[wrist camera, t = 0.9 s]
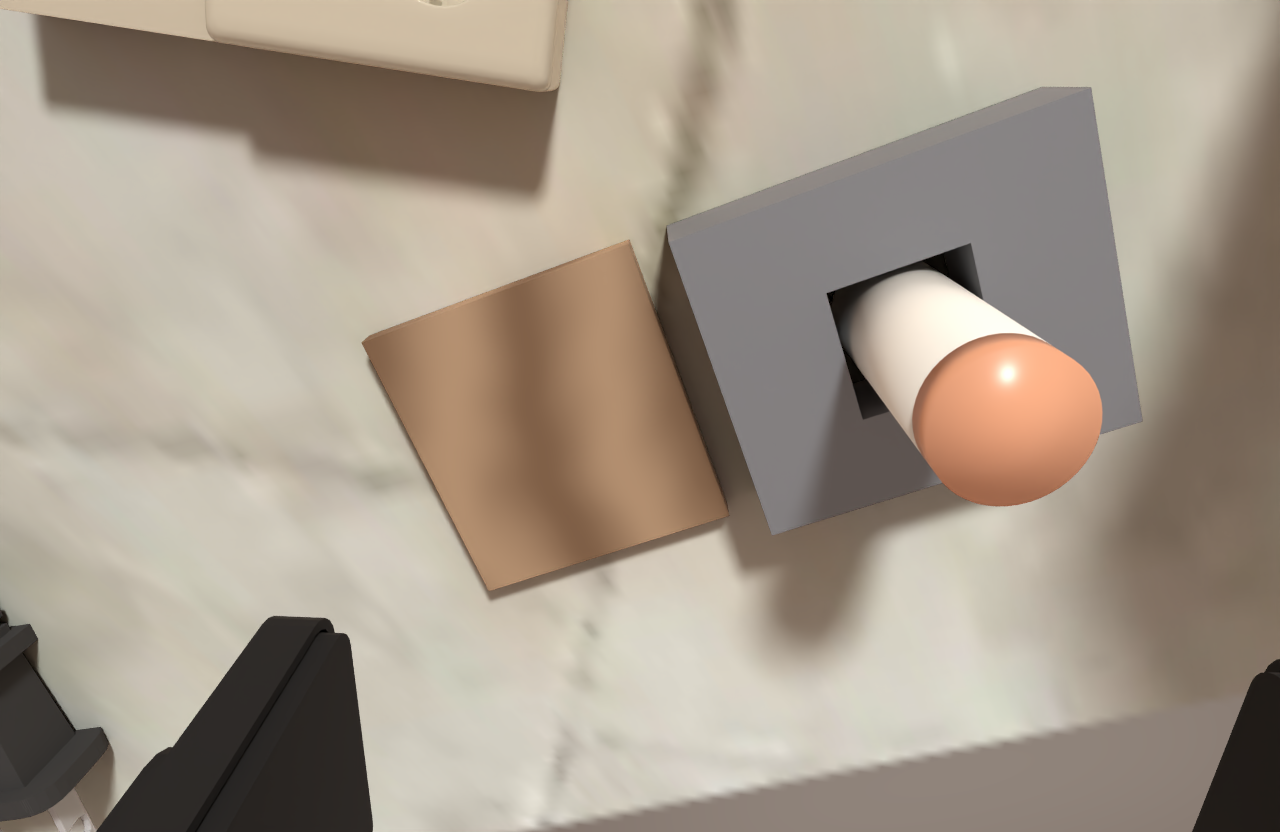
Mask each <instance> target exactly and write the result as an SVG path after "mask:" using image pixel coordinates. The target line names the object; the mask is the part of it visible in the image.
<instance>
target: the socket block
mask: <svg viewBox="0 0 1280 832" xmlns="http://www.w3.org/2000/svg"><path fill="white" fill-rule="evenodd" d="M667 233H668V242H669V245H670V248H671V251H672V253H673V256H674V259H675V262H676V265H677V268H678V270H679V273H680V276H681V279H682V282H683V285H684V287H685V290H686V293H687V296H688V299H689V302H690V304H691V307H692V310H693V313H694V316H695V319H696V321H697V324H698V327H699V330H700V333H701V336H702V338H703V341H704V344H705V347H706V350H707V353H708V355H709V358H710V361H711V364H712V367H713V370H714V372H715V375H716V378H717V381H718V384H719V387H720V389H721V392H722V395H723V398H724V401H725V404H726V406H727V409H728V412H729V415H730V418H731V421H732V423H733V426H734V429H735V432H736V435H737V438H738V440H739V443H740V446H741V449H742V452H743V455H744V457H745V460H746V463H747V466H748V469H749V472H750V474H751V477H752V480H753V483H754V486H755V489H756V491H757V494H758V497H759V500H760V503H761V506H762V508H763V511H764V514H765V517H766V520H767V523H768V525H769V528H770V531H771V534H772V535H775V534H778V533H782V532H785V531H788V530H791V529H795V528H798V527H801V526H804V525H808V524H811V523H814V522H817V521H821V520H824V519H827V518H830V517H834V516H837V515H840V514H843V513H847V512H850V511H853V510H856V509H860V508H863V507H866V506H869V505H873V504H876V503H879V502H882V501H886V500H889V499H892V498H895V497H899V496H902V495H905V494H908V493H912V492H915V491H918V490H921V489H925V488H928V487H931V486H934V485H938V484H941V483H942V482H941V480H940V479H939V478H938V476H937V475H936V474H935V472H934V471H933V470H932V468H931V467H930V465H929V464H928V463H927V461H926V460H925V459H924V457H923V456H922V454H921V453H920V452H919V450H918V449H917V448H916V446H915V445H914V444H913V442H912V441H911V439H910V438H909V437H908V435H907V434H906V433H905V431H904V430H903V428H902V427H901V426H900V424H899V423H898V422H897V420H896V419H895V418H894V416H893V415H892V413H891V412H890V411H889V409H888V408H887V407H886V405H885V404H884V402H883V401H882V400H881V398H880V397H879V396H878V394H877V393H876V391H875V390H874V389H873V387H872V386H871V385H870V383H869V382H868V381H867V379H866V380H863V381H860V382H856V383H853V384H852V381H851V377H850V374H849V371H848V367H847V364H846V360H845V357H844V353H843V350H842V346H841V343H840V339H839V336H838V333H837V329H836V326H835V322H834V319H833V315H832V312H831V308H830V305H829V301H828V298H827V294H826V293H828V292H831V291H834V290H837V289H840V288H843V287H846V286H849V285H851V284H854V283H857V282H860V281H863V280H866V279H869V278H872V277H875V276H877V275H880V274H883V273H886V272H889V271H892V270H895V269H898V268H900V267H903V266H906V265H909V264H912V263H915V262H918V261H921V260H923V259H926V258H929V257H932V256H935V255H938V254H941V253H944V257H945V262H946V266H947V270H948V275H949V279H951V280H952V281H954V282H956V283H957V284H959V285H960V286H962V287H963V288H965V289H966V290H968V291H969V292H971V293H972V294H974V295H975V296H977V297H979V298H980V299H982V300H983V301H985V302H986V303H988V304H989V305H991V306H992V307H994V308H995V309H997V310H998V311H1000V312H1002V313H1003V314H1005V315H1006V316H1008V317H1009V318H1011V319H1012V320H1014V321H1015V322H1017V323H1018V324H1020V325H1021V326H1023V327H1025V328H1026V329H1028V330H1029V331H1031V332H1032V333H1034V334H1035V335H1037V336H1038V337H1040V338H1041V339H1043V340H1044V341H1046V342H1048V343H1049V344H1051V345H1052V346H1054V347H1055V348H1057V349H1058V350H1060V351H1061V352H1063V353H1064V354H1066V355H1067V356H1069V357H1071V358H1072V359H1074V360H1075V361H1076V362H1078V363H1079V364H1080V365H1081V366H1082V367H1083V368H1084V369H1085V370H1086V371H1087V372H1088V373H1089V374H1090V376H1091V377H1092V379H1093V380H1094V382H1095V384H1096V386H1097V389H1098V391H1099V394H1100V398H1101V402H1102V412H1103V413H1102V425H1101V430H1100V434H1103V433H1106V432H1110V431H1113V430H1116V429H1119V428H1123V427H1126V426H1129V425H1132V424H1136V423H1139V422H1142V414H1141V408H1140V401H1139V395H1138V389H1137V382H1136V376H1135V369H1134V363H1133V356H1132V350H1131V343H1130V337H1129V330H1128V324H1127V317H1126V311H1125V304H1124V298H1123V291H1122V285H1121V278H1120V272H1119V265H1118V259H1117V252H1116V246H1115V239H1114V233H1113V226H1112V220H1111V213H1110V207H1109V200H1108V194H1107V187H1106V181H1105V174H1104V168H1103V161H1102V155H1101V148H1100V142H1099V135H1098V129H1097V123H1096V116H1095V110H1094V103H1093V97H1092V90H1091V87H1040V88H1038V89H1035V90H1032V91H1030V92H1027V93H1024V94H1022V95H1019V96H1016V97H1013V98H1011V99H1008V100H1005V101H1003V102H1000V103H997V104H994V105H992V106H989V107H986V108H984V109H981V110H978V111H976V112H973V113H970V114H967V115H965V116H962V117H959V118H957V119H954V120H951V121H948V122H946V123H943V124H940V125H938V126H935V127H932V128H930V129H927V130H924V131H921V132H919V133H916V134H913V135H911V136H908V137H905V138H903V139H900V140H897V141H894V142H892V143H889V144H886V145H884V146H881V147H878V148H875V149H873V150H870V151H867V152H865V153H862V154H859V155H857V156H854V157H851V158H848V159H846V160H843V161H840V162H838V163H835V164H832V165H829V166H827V167H824V168H821V169H819V170H816V171H813V172H811V173H808V174H805V175H802V176H800V177H797V178H794V179H792V180H789V181H786V182H783V183H781V184H778V185H775V186H773V187H770V188H767V189H765V190H762V191H759V192H756V193H754V194H751V195H748V196H746V197H743V198H740V199H738V200H735V201H732V202H729V203H727V204H724V205H721V206H719V207H716V208H713V209H710V210H708V211H705V212H702V213H700V214H697V215H694V216H692V217H689V218H686V219H683V220H681V221H678V222H675V223H673V224H670V225H667ZM1100 434H1099V435H1100Z"/></svg>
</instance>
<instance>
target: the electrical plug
mask: <svg viewBox="0 0 1280 832" xmlns="http://www.w3.org/2000/svg"><path fill="white" fill-rule="evenodd" d="M1 616H3V614H2V612H1V610H0V617H1ZM37 639H38V638H37V636H36V634H35V632H34V631H33V629H32V627H31V625H30V624H26V625H19V626H12V627H9V626H8V624H7V623H4V624H0V821H7V820H15V819H21V818H26V817H31V816H34V815H37V814H39V813H42V812H44V811H46V810H48V811H49V813H50V815H51V817H52V819H53V821H54V823H55V825H56V826H57V828H58V830H59V832H70V830H71V828H72V826H73V825H74V823H75V822H76V821H77V820H78V818H81V819H82V820H83V823H84V827H85V829H84V832H96V829H95V827H94V825H93V823H92V821H91V819H90V817H89V815H88V813H87V811H86V809H85V807H84V805H83V803H82V801H81V799H80V797H79V796H78V794H77V792H76V790H75V788H74V787H75V786H76V785H77V783H78V782H79V781H80V780H81V779H82V778H83V777H84V775H85V774H86V773H87V772H88V771H89V770H90V769H91V767H92V766H93V765H94V764H95V763H96V762H97V761H98V760H99V758H100V757H101V756H102V755H103V753H104V752H105V751H106V749H107V747H108V741H107V739H106V737H105V735H104V733H103V731H102V729H101V727H97V728H90V729H82V730H75V731H73V730H72V728H71V727H70V725H69V724H68V722H67V720H66V719H65V717H64V716H63V714H62V713H61V711H60V710H59V708H58V707H57V705H56V704H55V702H54V701H53V699H52V698H51V696H50V694H49V693H48V691H47V690H46V688H45V687H44V685H43V684H42V682H41V681H40V679H39V678H38V676H37V675H36V673H35V672H34V670H33V668H32V667H31V665H30V664H29V662H28V661H27V659H26V658H25V656H24V655H23V653H22V652H23V651H24V650H25V649H27V648H28V647H29V646H30V645H31V644H33V643H34V642H35V641H36V640H37ZM0 832H2V830H1V829H0Z"/></svg>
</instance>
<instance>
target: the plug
mask: <svg viewBox="0 0 1280 832" xmlns="http://www.w3.org/2000/svg"><path fill="white" fill-rule="evenodd" d="M831 312H832V315H833V319H834V322H835V326H836V329H837V333H838V336H839V339H840V343H841V345H842V346H843V348H844V349H845V350H846V352H847V353H848V354H849V356H850V357H851V359H852V360H853V361H854V363H855V364H856V365H857V367H858V368H859V370H860V371H861V372H862V374H863V375H864V376H865V378H866V379H867V381H868V382H869V383H870V385H871V386H872V387H873V389H874V390H875V391H876V393H877V394H878V396H879V397H880V398H881V400H882V401H883V402H884V404H885V405H886V407H887V408H888V409H889V411H890V412H891V413H892V415H893V416H894V418H895V419H896V420H897V422H898V423H899V424H900V426H901V427H902V428H903V430H904V431H905V433H906V434H907V435H908V437H909V438H910V439H911V441H912V442H913V444H914V445H915V446H916V448H917V449H918V450H919V452H920V453H921V454H922V456H923V457H924V459H925V460H926V461H927V463H928V464H929V465H930V467H931V468H932V470H933V471H934V472H935V474H936V475H937V476H938V478H939V479H940V480H941V482H942V483H943V484H944V485H945V486H946V487H947V488H948V489H950V490H951V491H952V492H954V493H955V494H956V495H958V496H960V497H962V498H964V499H966V500H969V501H971V502H974V503H978V504H982V505H988V506H1012V505H1019V504H1023V503H1027V502H1031V501H1033V500H1036V499H1039V498H1041V497H1043V496H1045V495H1048V494H1050V493H1051V492H1053V491H1055V490H1056V489H1058V488H1060V487H1061V486H1062V485H1064V484H1065V483H1066V482H1067V481H1069V480H1070V479H1071V478H1072V477H1073V476H1074V475H1075V474H1076V473H1077V472H1078V471H1079V470H1080V469H1081V468H1082V466H1083V465H1084V464H1085V463H1086V461H1087V460H1088V458H1089V457H1090V455H1091V453H1092V451H1093V449H1094V447H1095V445H1096V443H1097V440H1098V437H1099V434H1100V430H1101V425H1102V413H1103V412H1102V402H1101V398H1100V394H1099V391H1098V389H1097V386H1096V384H1095V382H1094V380H1093V379H1092V377H1091V376H1090V374H1089V373H1088V372H1087V371H1086V370H1085V369H1084V368H1083V367H1082V366H1081V365H1080V364H1079V363H1078V362H1076V361H1075V360H1074V359H1072V358H1071V357H1069V356H1067V355H1066V354H1064V353H1063V352H1061V351H1060V350H1058V349H1057V348H1055V347H1054V346H1052V345H1051V344H1049V343H1048V342H1046V341H1044V340H1043V339H1041V338H1040V337H1038V336H1037V335H1035V334H1034V333H1032V332H1031V331H1029V330H1028V329H1026V328H1025V327H1023V326H1021V325H1020V324H1018V323H1017V322H1015V321H1014V320H1012V319H1011V318H1009V317H1008V316H1006V315H1005V314H1003V313H1002V312H1000V311H998V310H997V309H995V308H994V307H992V306H991V305H989V304H988V303H986V302H985V301H983V300H982V299H980V298H979V297H977V296H975V295H974V294H972V293H971V292H969V291H968V290H966V289H965V288H963V287H962V286H960V285H959V284H957V283H956V282H954V281H952V280H951V279H949V278H948V277H946V276H945V275H943V274H942V273H940V272H939V271H937V270H936V269H934V268H933V267H931V266H929V265H928V264H926V263H925V262H923V261H922V260H921V261H918V262H915V263H912V264H909V265H906V266H903V267H900V268H898V269H895V270H892V271H889V272H886V273H883V274H880V275H877V276H875V277H872V278H869V279H866V280H863V281H860V282H857V283H854V284H851V285H849V286H846V287H843V288H840V289H837V290H836V292H835V295H834V298H833V302H832V307H831Z"/></svg>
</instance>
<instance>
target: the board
mask: <svg viewBox="0 0 1280 832" xmlns="http://www.w3.org/2000/svg"><path fill="white" fill-rule="evenodd" d="M362 345H363V347H364V349H365V350H366V352H367V354H368V356H369V358H370V360H371V362H372V364H373V366H374V368H375V370H376V372H377V374H378V376H379V378H380V380H381V382H382V384H383V386H384V388H385V389H386V391H387V393H388V395H389V397H390V399H391V401H392V403H393V405H394V407H395V409H396V411H397V413H398V415H399V417H400V419H401V421H402V423H403V425H404V427H405V428H406V430H407V432H408V434H409V436H410V438H411V440H412V442H413V444H414V446H415V448H416V450H417V452H418V454H419V456H420V458H421V460H422V462H423V464H424V466H425V467H426V469H427V471H428V473H429V475H430V477H431V479H432V481H433V483H434V485H435V487H436V489H437V491H438V493H439V495H440V497H441V499H442V501H443V503H444V505H445V507H446V508H447V510H448V512H449V514H450V516H451V518H452V520H453V522H454V524H455V526H456V528H457V530H458V532H459V534H460V536H461V538H462V540H463V542H464V544H465V546H466V547H467V549H468V551H469V553H470V555H471V557H472V559H473V561H474V563H475V565H476V567H477V569H478V571H479V573H480V575H481V577H482V579H483V581H484V583H485V585H486V586H487V588H488V590H489V591H491V590H494V589H497V588H501V587H504V586H507V585H510V584H513V583H516V582H520V581H523V580H526V579H529V578H532V577H536V576H539V575H542V574H545V573H548V572H552V571H555V570H558V569H561V568H564V567H567V566H571V565H574V564H577V563H580V562H583V561H587V560H590V559H593V558H596V557H599V556H603V555H606V554H609V553H612V552H615V551H618V550H622V549H625V548H628V547H631V546H634V545H638V544H641V543H644V542H647V541H650V540H653V539H657V538H660V537H663V536H666V535H669V534H673V533H676V532H679V531H682V530H685V529H689V528H692V527H695V526H698V525H701V524H704V523H708V522H711V521H714V520H717V519H720V518H724V517H727V516H729V511H728V505H727V502H726V499H725V497H724V494H723V491H722V489H721V486H720V483H719V481H718V478H717V475H716V472H715V470H714V467H713V464H712V462H711V459H710V456H709V454H708V451H707V448H706V445H705V443H704V440H703V437H702V435H701V432H700V429H699V426H698V424H697V421H696V418H695V416H694V413H693V410H692V408H691V405H690V402H689V399H688V397H687V394H686V391H685V389H684V386H683V383H682V381H681V378H680V375H679V372H678V370H677V367H676V364H675V362H674V359H673V356H672V354H671V351H670V348H669V345H668V343H667V340H666V337H665V335H664V332H663V329H662V326H661V324H660V321H659V318H658V316H657V313H656V310H655V308H654V305H653V302H652V299H651V297H650V294H649V291H648V289H647V286H646V283H645V281H644V278H643V275H642V272H641V270H640V267H639V264H638V262H637V259H636V256H635V254H634V251H633V248H632V245H631V243H630V240H627V241H624V242H621V243H619V244H616V245H613V246H610V247H608V248H605V249H602V250H600V251H597V252H594V253H591V254H589V255H586V256H583V257H581V258H578V259H575V260H573V261H570V262H567V263H564V264H562V265H559V266H556V267H554V268H551V269H548V270H545V271H543V272H540V273H537V274H535V275H532V276H529V277H527V278H524V279H521V280H518V281H516V282H513V283H510V284H508V285H505V286H502V287H499V288H497V289H494V290H491V291H489V292H486V293H483V294H481V295H478V296H475V297H472V298H470V299H467V300H464V301H462V302H459V303H456V304H454V305H451V306H448V307H445V308H443V309H440V310H437V311H435V312H432V313H429V314H426V315H424V316H421V317H418V318H416V319H413V320H410V321H408V322H405V323H402V324H399V325H397V326H394V327H391V328H389V329H386V330H383V331H380V332H378V333H375V334H372V335H370V336H369V337H367V338H366V339H365V340H364V341H363V342H362Z"/></svg>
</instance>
